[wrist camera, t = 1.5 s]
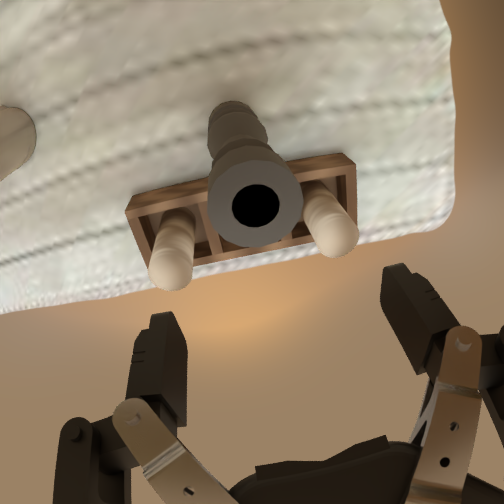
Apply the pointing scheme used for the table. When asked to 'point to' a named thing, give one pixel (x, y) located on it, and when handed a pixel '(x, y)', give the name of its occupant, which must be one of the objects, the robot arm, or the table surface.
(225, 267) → the table surface
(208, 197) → the candle holder
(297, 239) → the wooden candle tray
